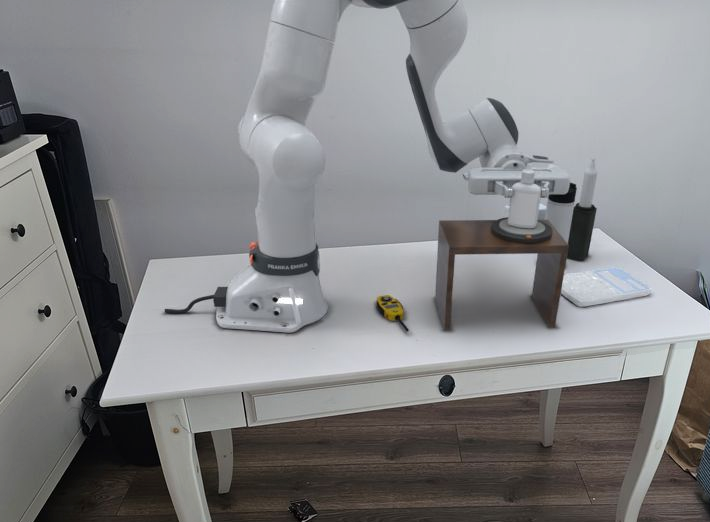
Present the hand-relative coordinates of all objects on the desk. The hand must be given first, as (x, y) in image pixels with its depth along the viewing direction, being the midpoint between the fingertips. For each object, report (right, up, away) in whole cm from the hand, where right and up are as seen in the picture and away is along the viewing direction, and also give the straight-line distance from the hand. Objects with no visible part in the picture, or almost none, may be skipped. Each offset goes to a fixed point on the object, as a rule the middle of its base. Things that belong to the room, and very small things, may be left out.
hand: (527, 193), depth 117 cm
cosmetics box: (+7, -2, +47) cm, 48 cm away
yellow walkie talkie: (-26, -23, +11) cm, 36 cm away
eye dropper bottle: (0, -5, +4) cm, 7 cm away
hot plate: (0, -6, +5) cm, 8 cm away
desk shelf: (-5, -22, +14) cm, 26 cm away
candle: (+20, -6, +42) cm, 46 cm away
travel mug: (+12, -9, +36) cm, 40 cm away
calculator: (+21, -16, +25) cm, 36 cm away
